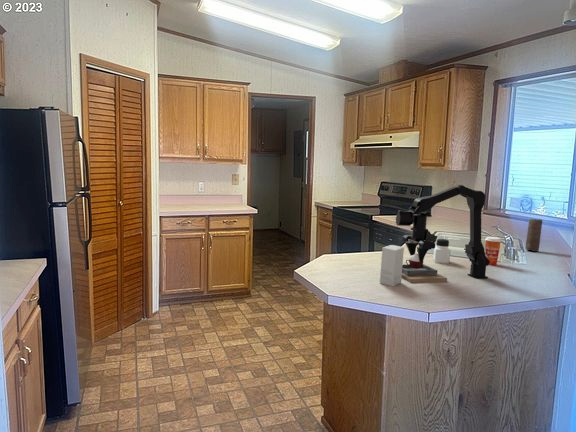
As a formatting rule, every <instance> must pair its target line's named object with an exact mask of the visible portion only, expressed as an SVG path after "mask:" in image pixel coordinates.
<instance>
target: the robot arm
mask: <svg viewBox="0 0 576 432" xmlns="http://www.w3.org/2000/svg"><path fill="white" fill-rule="evenodd" d="M459 195H460V196H462V197H463V198H465V199H466V204H467V206H468V208H469V242H468V244H467V243H465V246H464V247H465V251H464V253H465V254H466V255H465V256H467V258H468V260H469V262H471V264H470V269H469V270H470V271H469V273H467V276H469V277H471V278H475V279H488V278H489V276H486V271H487V267H489V266H490V265H489V263H490V261H489V260H488V259H487V257H486V256H485V247H484V244H483V243H482V210H483V208H484V206H485V203H486V194H485V192H483V191H482V190H476V189H471V188H469V187H466V186H465V185H462V184H455V185H454V186H452V187H449V188H447V189H445V190H442V191H439V192H437V193H434V194H432V195H425V196H422V197H417V198H415V199H414V200H413V203H412V205H411V206H410V207H409V208H408V210H398V211H397V213H396V217H395V224H396V226H401V227H402V226H403V227H404V226H406V227H407V226H408V227H410V226H411V225H412V227H410V230H411V231H412V232H411V233H412V234H404V235H402V240H401V241H403V242H404V244H405V245H406V248H407V249H408V253H409V256H411V255H414V254H416V250H417V254H418V256H419V261H420V262H422V261H423V262H424V260H425V256H426V255H427V253H428V251H430V250H432V249H433V250H434V249H435V247H436V243H437V239H438V237H439V236H437V235H435V234H433V233H431V231H430V230H429V229H428V228H427V221H428V218H432V217H433V215H432V214H431V213H430V212H429V210H430V209H432V208H434V206H436V205H437V204H440V203H441V202H444V201H446V200H448V199H451V198H454V197H457V196H459ZM423 259H424V260H423Z"/></svg>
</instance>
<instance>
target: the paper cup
mask: <svg viewBox="0 0 576 432" xmlns="http://www.w3.org/2000/svg"><path fill="white" fill-rule="evenodd" d="M484 240H485V247H484V250H485V256H486V257H487V259H488V260H489V261H490V263H489V265H488V266H497V264H498V259H499V255H500V248H501V243H502V238H501V237H496V236H486V238H485V239H484Z"/></svg>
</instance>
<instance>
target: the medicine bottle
mask: <svg viewBox="0 0 576 432" xmlns="http://www.w3.org/2000/svg"><path fill="white" fill-rule="evenodd" d="M449 245H450V241H449V240H448V239H447V238H437V239H436V243H435V249H433V256H432V259H433V262H434V263H435V262H436V263H435V264H448V265H449V264H450V259H451V249H450V248H449Z"/></svg>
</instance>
